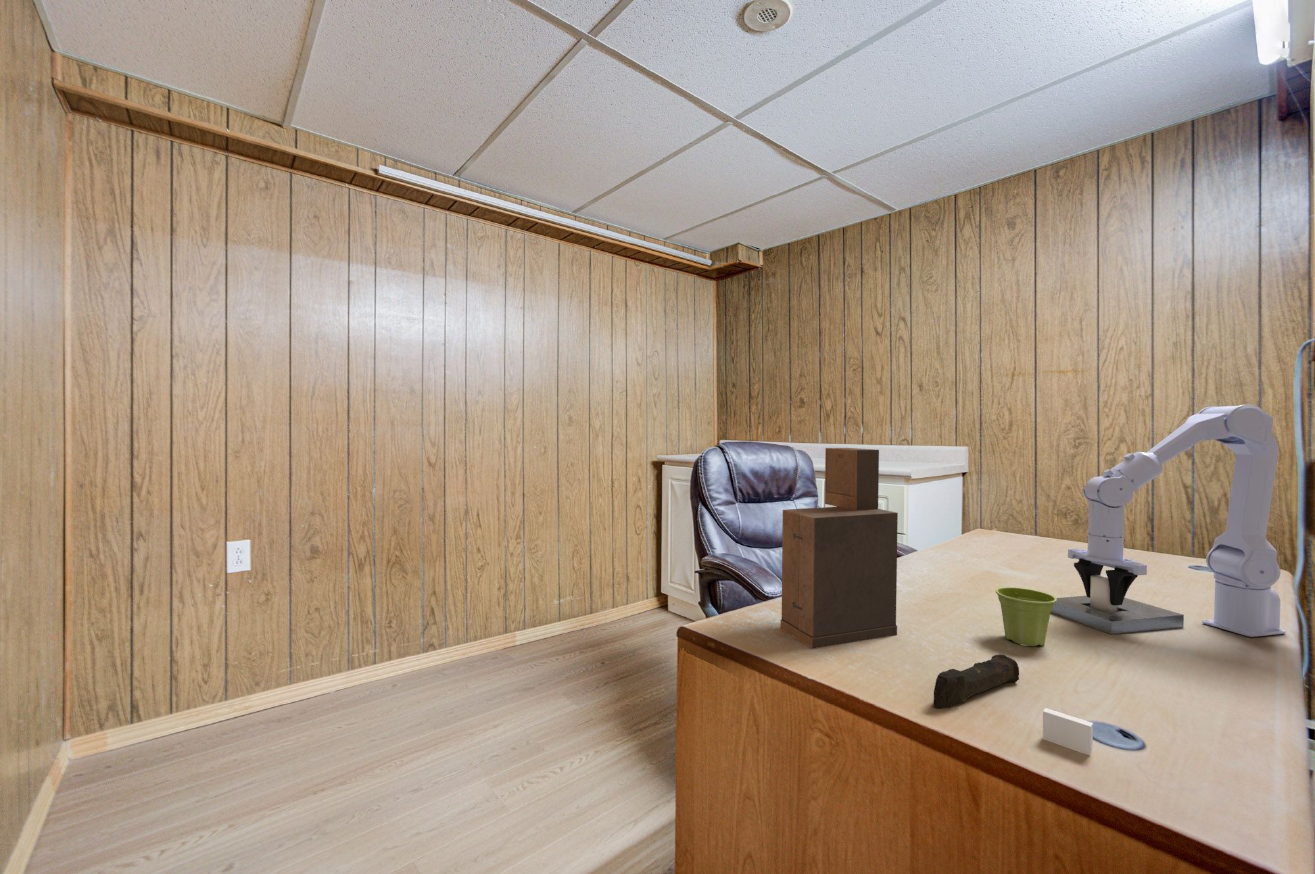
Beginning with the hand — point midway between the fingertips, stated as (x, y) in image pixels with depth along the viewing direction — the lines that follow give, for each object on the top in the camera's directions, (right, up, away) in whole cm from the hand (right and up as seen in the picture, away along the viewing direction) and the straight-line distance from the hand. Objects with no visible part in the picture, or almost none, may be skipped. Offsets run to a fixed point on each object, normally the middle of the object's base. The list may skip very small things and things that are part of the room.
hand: (1103, 600), depth 114 cm
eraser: (-41, -5, -45) cm, 61 cm away
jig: (+2, -4, +1) cm, 4 cm away
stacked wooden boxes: (-57, -4, -7) cm, 57 cm away
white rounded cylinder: (0, -2, 0) cm, 2 cm away
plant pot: (-24, -4, -11) cm, 27 cm away
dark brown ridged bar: (-45, -5, -32) cm, 55 cm away
